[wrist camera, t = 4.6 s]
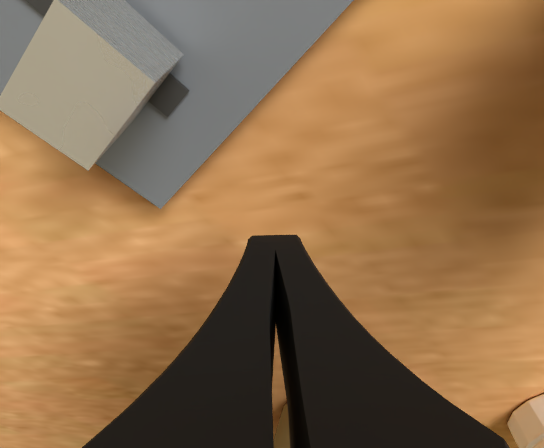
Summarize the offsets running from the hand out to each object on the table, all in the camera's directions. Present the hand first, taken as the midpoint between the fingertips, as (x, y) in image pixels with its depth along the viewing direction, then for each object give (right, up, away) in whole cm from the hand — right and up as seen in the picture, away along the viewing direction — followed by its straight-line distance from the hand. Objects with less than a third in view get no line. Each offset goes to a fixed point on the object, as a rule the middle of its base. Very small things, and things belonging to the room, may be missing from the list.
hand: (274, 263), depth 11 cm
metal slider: (-5, +6, +1) cm, 8 cm away
